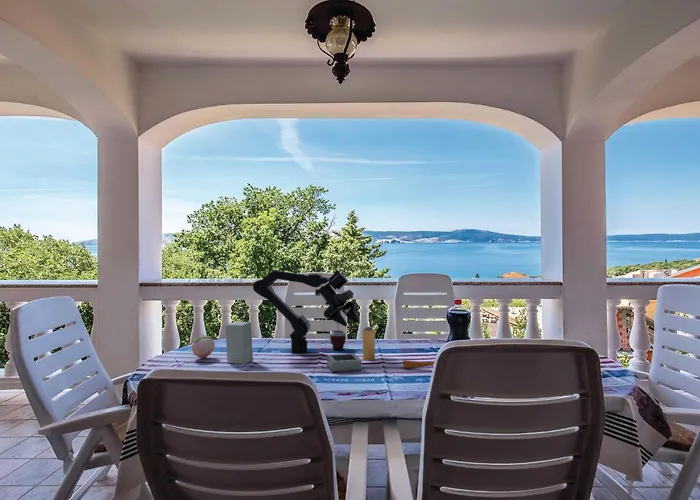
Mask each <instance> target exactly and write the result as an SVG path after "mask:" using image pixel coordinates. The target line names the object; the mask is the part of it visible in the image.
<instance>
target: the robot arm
mask: <svg viewBox="0 0 700 500" xmlns="http://www.w3.org/2000/svg"><path fill="white" fill-rule="evenodd" d="M278 280H279V281H280V280H281V281H288V282H295V283H301V284H304V285H306V286H310V287H311V288H316V289H315V292H314V295H315V296H316V297H319V296H320V295H321V297H322V298H323V299H324V301H325V305H326V306H327V308H326V309H325V310H324V311H323V316H324V317H325V319H329V320H331V321H334V322H336V323H337V322H338V324H340V325H342V326H343V327H347V326H348V323H347V321H346V319H345V318H344V316H343V315H342V313H343V314H344V315H345V316H346V317H347V318H349V319H350V320H351V321H353V322H354V323H355V324H358V323H360V322H359V319H358V315H357V313H356V308H357V305H358V304H357V302H356V301H355V300H351V299H353V298H354V292H353V291H352V290H351V289H348V290H346V291H344V292H342V293H337V292H336V291H335V290H341V288H343V287H344V286H345V285H346V284H347V283H349V280H348V278H347V277H346V276H345V275H344V274H343V273H342V272H341V271H339V270H336V271H335V272H334V273H333V274H332V275H331V276H330V277H326V276H325V277H324V276H323V275H322V274H321V273H297V272H289V271H284V270H279V269H276V270H275V269H274V270H272V271H271V272H270V273H268V274H267V275H266V276H264V277H263V278H261V279H258V280H256V281H254V283H253V285H252V290H253V291H254V292H255V293H256V294H258V295H259V296H261V297H262V298H264V299H266V300H268V302H270V304H272V306H274V308H276V310H277V311H278V312H279V313H281V315H283V317H284V318H285V319H286V320H288V322H289V323H290V326H291V328H292V329H293V331H292V332H291V333H290V334H289V338H290V353H291V354H306V353H307V351H308V341H307V337H306V335H307V334H308V333H309V332H310V330H311V323H310V320H309V319H307V318H306V317H305V315H303V314H302V315H298V314H296V312H294V310H292V309H291V308H290V306H288V304H287V303H286V302H284V300H283V299H281V298H280V297H279V295H278V294H277V293H276V292H275V290H274V288H273V286H272V285H273V284H274V283H275V282H276V281H278ZM317 288H318V289H317ZM348 300H349V301H348ZM350 300H351V301H350ZM341 312H342V313H341Z"/></svg>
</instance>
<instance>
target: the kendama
mask: <svg viewBox="0 0 700 500" xmlns="http://www.w3.org/2000/svg"><path fill="white" fill-rule="evenodd" d="M434 361H435V360H433V361H431V362H430V361H429V362H427V361H415V360H407V359H405V360H402V368H403V370H409V369H416V368H423V367H433V364H434Z"/></svg>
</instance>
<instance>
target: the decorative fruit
mask: <svg viewBox="0 0 700 500" xmlns="http://www.w3.org/2000/svg"><path fill="white" fill-rule="evenodd" d="M215 348H216V343H215V341H214V336H210V335H205V336H204V334H202V337H197V338H195V339H194V340H193V341H192V343H191V351H192V353H193V355H194V356H195V357H197V358H199V359H202V358H204V359H206V358H207V357H208V356H210V355H211V354H212V353H213V351H214V350H215Z"/></svg>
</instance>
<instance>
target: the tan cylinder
mask: <svg viewBox="0 0 700 500" xmlns="http://www.w3.org/2000/svg"><path fill="white" fill-rule="evenodd" d="M362 360H364V361H366V362H367V361H375V360H376V330H375V328H374V329H373V327H372V326H365V328H363V329H362Z"/></svg>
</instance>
